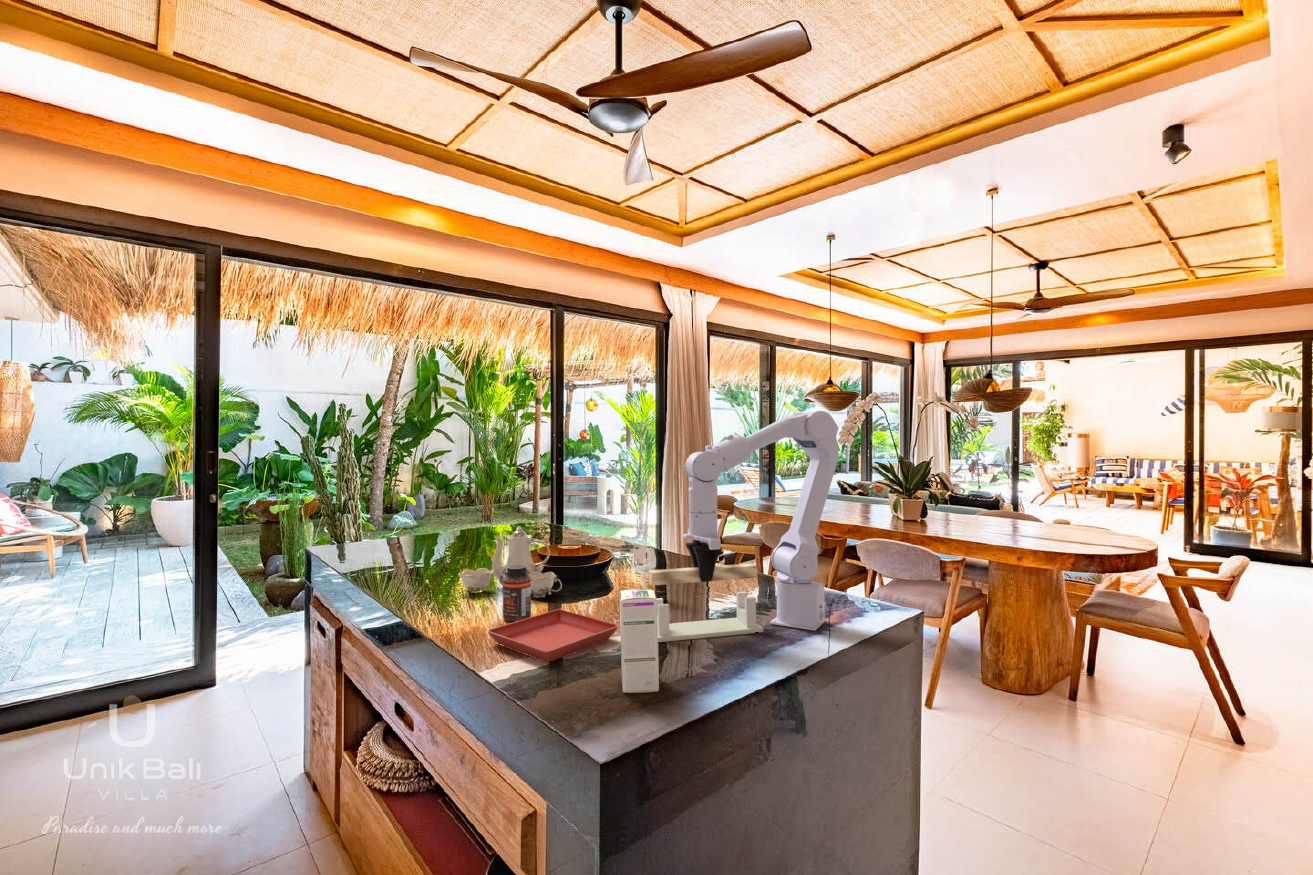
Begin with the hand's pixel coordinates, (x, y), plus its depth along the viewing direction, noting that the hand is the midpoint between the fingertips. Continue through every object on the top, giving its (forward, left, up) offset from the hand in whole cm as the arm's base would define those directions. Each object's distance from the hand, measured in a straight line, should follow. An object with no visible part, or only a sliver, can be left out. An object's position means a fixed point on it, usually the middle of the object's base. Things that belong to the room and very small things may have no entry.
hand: (703, 579), depth 123 cm
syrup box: (-3, +29, -10) cm, 31 cm away
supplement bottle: (+39, +12, -10) cm, 42 cm away
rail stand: (0, 0, -10) cm, 10 cm away
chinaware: (+57, -6, -11) cm, 58 cm away
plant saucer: (+22, +20, -11) cm, 32 cm away
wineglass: (+24, -16, -10) cm, 31 cm away
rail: (0, 0, 0) cm, 0 cm away
